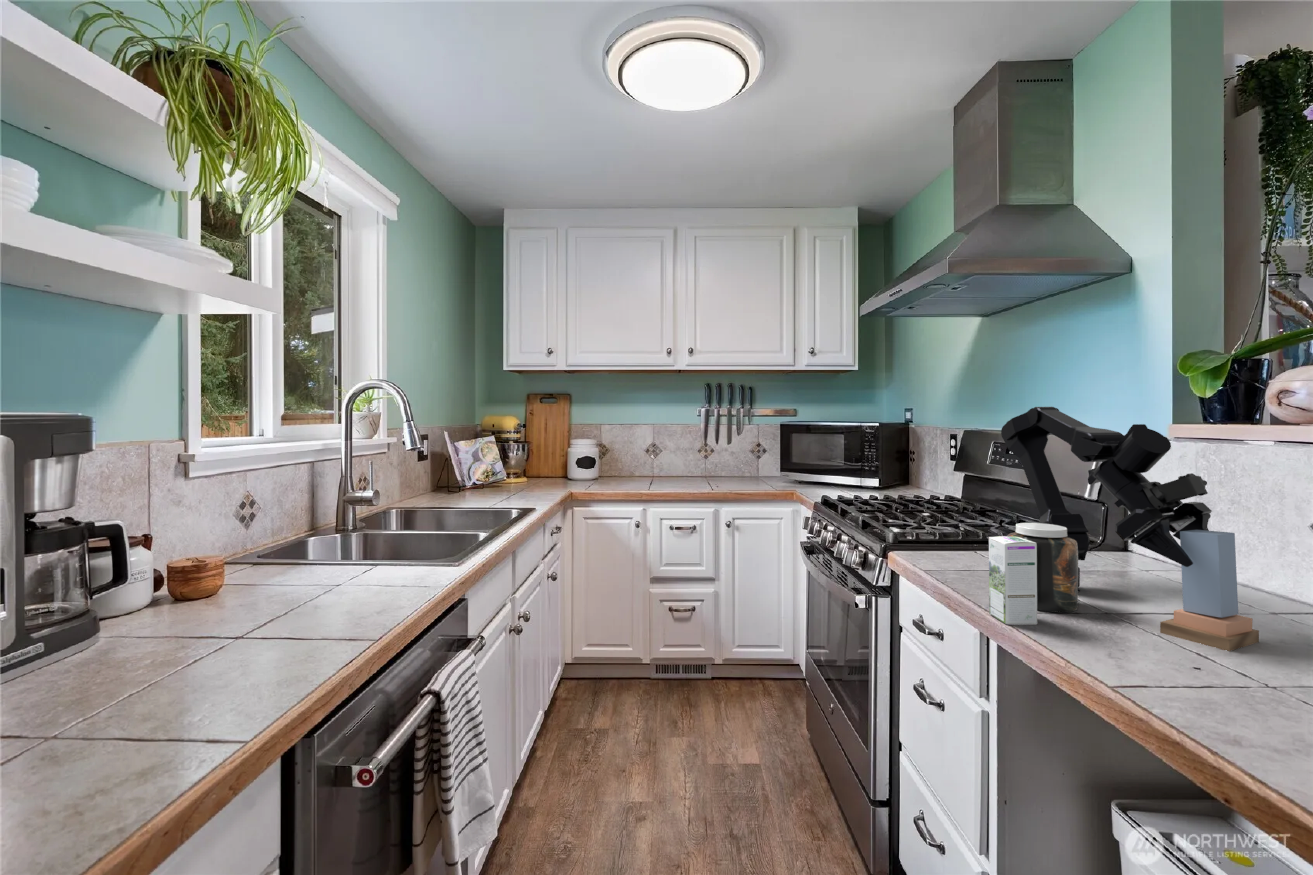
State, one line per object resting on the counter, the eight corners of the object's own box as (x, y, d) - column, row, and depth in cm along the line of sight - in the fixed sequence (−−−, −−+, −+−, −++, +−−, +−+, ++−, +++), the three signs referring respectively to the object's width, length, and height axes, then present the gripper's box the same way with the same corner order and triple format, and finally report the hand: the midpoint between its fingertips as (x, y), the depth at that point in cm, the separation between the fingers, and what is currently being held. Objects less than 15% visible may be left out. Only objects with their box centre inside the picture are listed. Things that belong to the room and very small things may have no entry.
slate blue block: (1221, 617, 95) (1217, 534, 95) (1183, 610, 100) (1179, 531, 100) (1238, 614, 97) (1234, 532, 97) (1200, 607, 102) (1196, 529, 102)
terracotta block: (1225, 636, 93) (1226, 623, 93) (1173, 622, 100) (1173, 610, 100) (1252, 630, 96) (1252, 618, 96) (1199, 617, 102) (1199, 605, 102)
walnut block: (1229, 655, 92) (1229, 639, 92) (1160, 636, 101) (1160, 621, 100) (1258, 646, 96) (1258, 630, 96) (1189, 628, 104) (1190, 614, 104)
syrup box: (1038, 625, 105) (1039, 541, 104) (1004, 625, 105) (1004, 542, 105) (1019, 614, 111) (1020, 535, 110) (987, 614, 111) (987, 535, 110)
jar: (1011, 609, 114) (1012, 529, 113) (1000, 592, 125) (1000, 520, 124) (1086, 615, 110) (1086, 533, 109) (1067, 597, 121) (1067, 522, 120)
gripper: (1136, 460, 99) (1220, 539, 89) (1198, 456, 107) (1281, 528, 97) (1085, 502, 106) (1157, 579, 97) (1146, 495, 114) (1218, 566, 104)
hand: (1205, 562), depth 98 cm, fingers open, 9 cm apart
